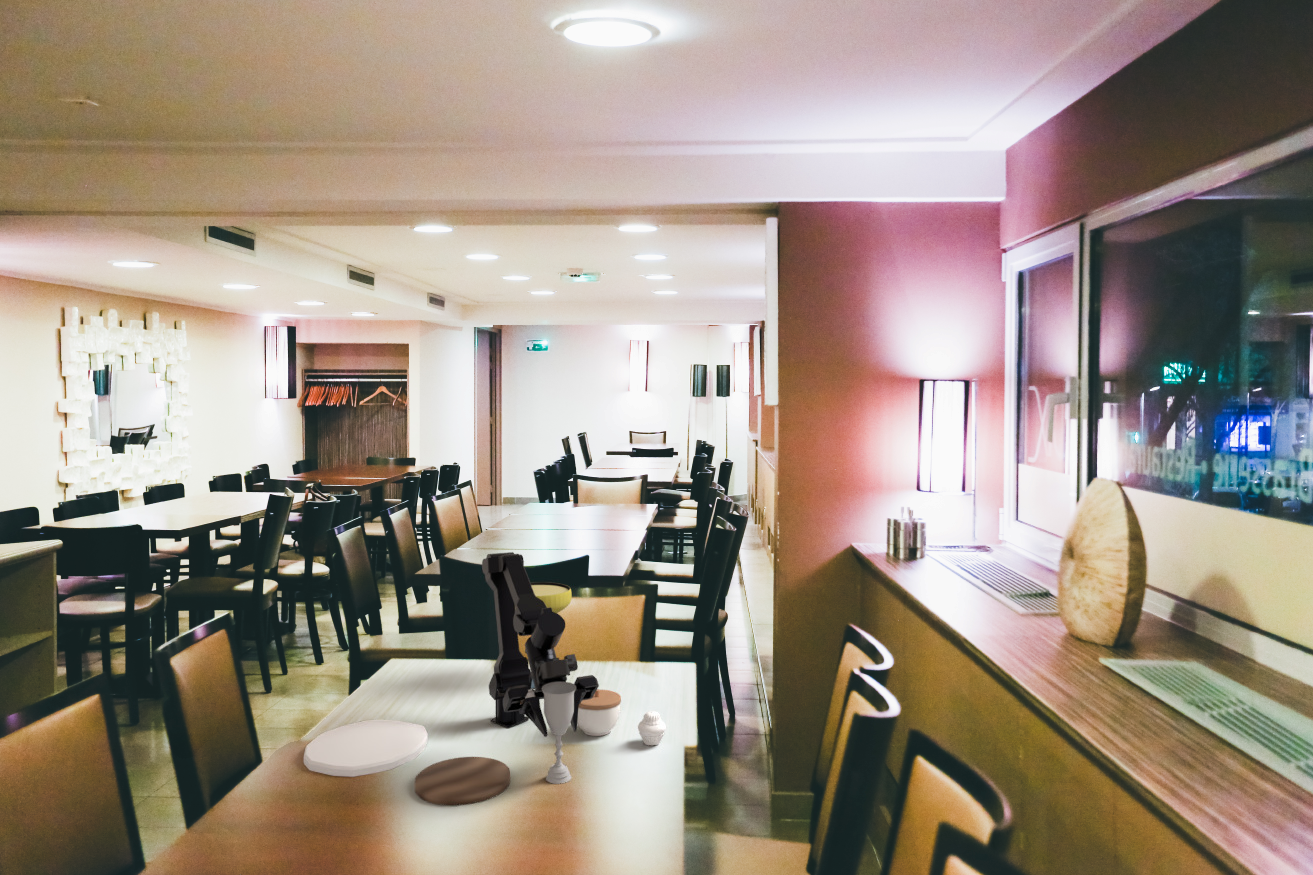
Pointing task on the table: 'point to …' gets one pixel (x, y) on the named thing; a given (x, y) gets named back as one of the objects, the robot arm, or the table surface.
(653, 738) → the muffin
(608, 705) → the lidded jar
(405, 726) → the decorative plate
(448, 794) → the serving board
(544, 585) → the cocktail glass
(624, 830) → the table surface
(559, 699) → the chalice
